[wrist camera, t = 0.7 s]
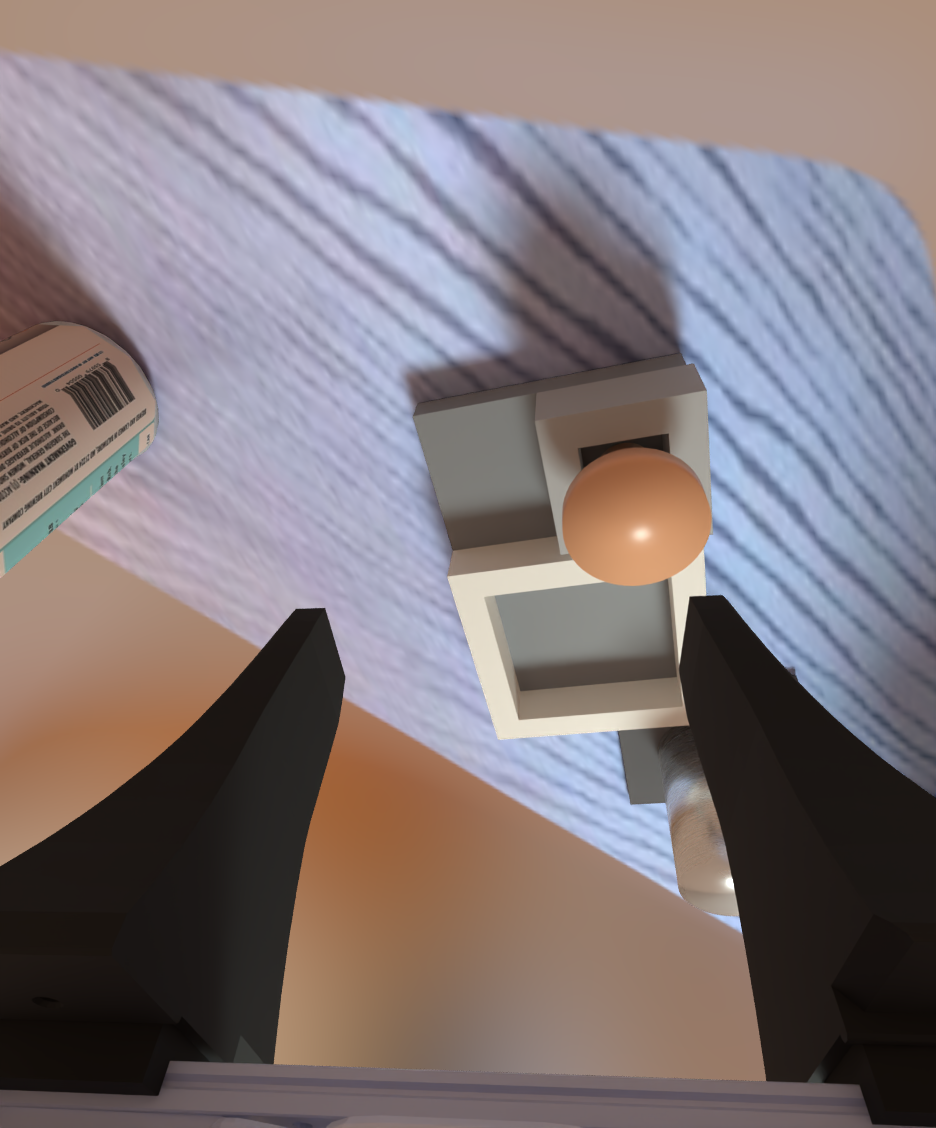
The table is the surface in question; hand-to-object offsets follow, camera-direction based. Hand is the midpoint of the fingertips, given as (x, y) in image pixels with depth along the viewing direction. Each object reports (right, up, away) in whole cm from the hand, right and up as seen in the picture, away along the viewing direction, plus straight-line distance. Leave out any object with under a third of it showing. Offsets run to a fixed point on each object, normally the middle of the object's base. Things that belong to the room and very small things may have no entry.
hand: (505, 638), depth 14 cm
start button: (+4, +4, +6) cm, 8 cm away
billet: (+9, -6, +15) cm, 19 cm away
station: (+3, +2, +10) cm, 11 cm away
